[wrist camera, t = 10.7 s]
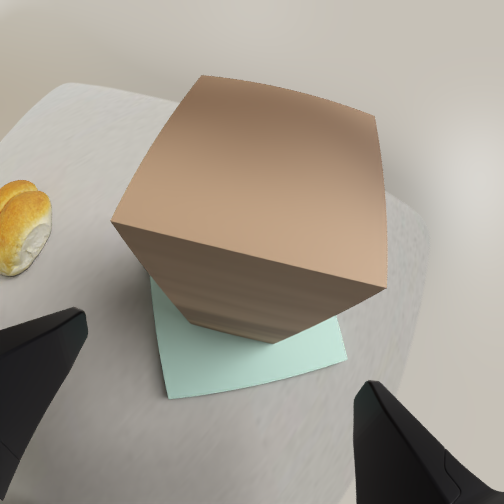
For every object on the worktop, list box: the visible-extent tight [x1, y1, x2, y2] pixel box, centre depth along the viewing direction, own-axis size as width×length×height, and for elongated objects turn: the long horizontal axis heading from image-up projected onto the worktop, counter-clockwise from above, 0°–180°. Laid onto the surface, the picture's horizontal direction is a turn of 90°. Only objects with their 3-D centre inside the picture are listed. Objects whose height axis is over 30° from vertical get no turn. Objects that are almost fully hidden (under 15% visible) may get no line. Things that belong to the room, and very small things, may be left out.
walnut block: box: [111, 75, 387, 344], centre depth 11 cm, size 5×5×12 cm
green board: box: [150, 276, 348, 399], centre depth 17 cm, size 11×11×1 cm
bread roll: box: [0, 180, 52, 276], centre depth 16 cm, size 8×9×4 cm
